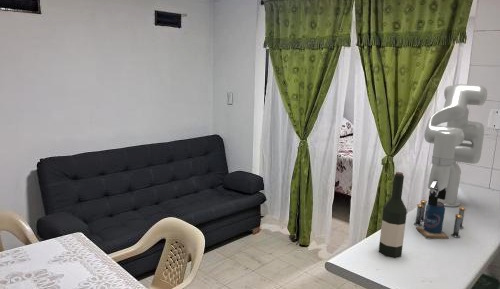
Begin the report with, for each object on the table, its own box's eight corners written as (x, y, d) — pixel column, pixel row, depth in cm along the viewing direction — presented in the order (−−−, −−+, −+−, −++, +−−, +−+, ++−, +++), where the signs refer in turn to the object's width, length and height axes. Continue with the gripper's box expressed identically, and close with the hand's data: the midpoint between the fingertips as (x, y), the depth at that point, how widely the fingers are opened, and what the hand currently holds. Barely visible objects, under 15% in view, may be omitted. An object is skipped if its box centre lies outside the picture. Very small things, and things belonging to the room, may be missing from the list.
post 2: (416, 218, 171) (418, 199, 169) (423, 219, 171) (425, 200, 169) (419, 221, 168) (421, 202, 166) (426, 221, 168) (429, 202, 166)
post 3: (449, 234, 156) (452, 213, 154) (457, 234, 156) (460, 213, 154) (453, 237, 152) (456, 216, 151) (461, 238, 152) (464, 217, 151)
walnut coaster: (416, 228, 160) (416, 226, 160) (437, 229, 160) (437, 226, 160) (426, 238, 151) (426, 235, 151) (448, 238, 151) (448, 236, 151)
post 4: (453, 225, 165) (456, 206, 163) (460, 225, 165) (463, 206, 163) (457, 228, 161) (460, 208, 160) (464, 229, 161) (468, 209, 160)
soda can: (421, 231, 155) (425, 203, 152) (424, 226, 160) (428, 199, 158) (440, 236, 151) (444, 207, 148) (442, 230, 156) (446, 202, 154)
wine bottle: (373, 252, 138) (382, 172, 132) (383, 245, 144) (392, 168, 138) (396, 260, 132) (406, 177, 126) (405, 252, 138) (415, 173, 132)
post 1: (412, 223, 166) (415, 203, 164) (419, 223, 166) (422, 203, 164) (415, 226, 162) (418, 206, 161) (423, 226, 163) (425, 206, 161)
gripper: (439, 155, 158) (434, 194, 162) (424, 163, 146) (419, 205, 150) (459, 159, 153) (453, 199, 157) (445, 167, 141) (439, 210, 145)
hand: (436, 201), depth 153 cm, fingers open, 9 cm apart
